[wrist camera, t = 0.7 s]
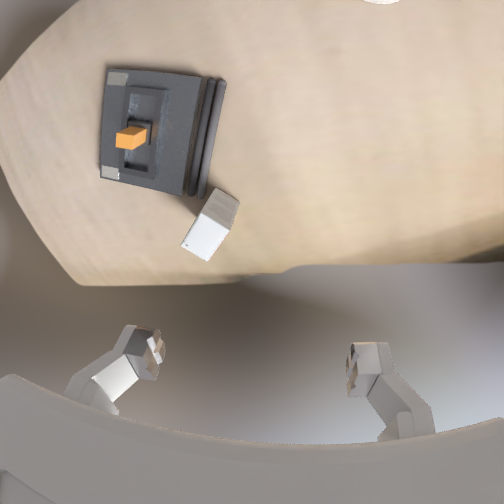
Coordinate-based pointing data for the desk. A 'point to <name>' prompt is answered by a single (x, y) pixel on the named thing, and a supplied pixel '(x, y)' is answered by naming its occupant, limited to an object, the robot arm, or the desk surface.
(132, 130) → the lever
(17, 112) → the desk surface
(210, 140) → the twin grey rods
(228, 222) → the small box
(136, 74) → the breaker panel
